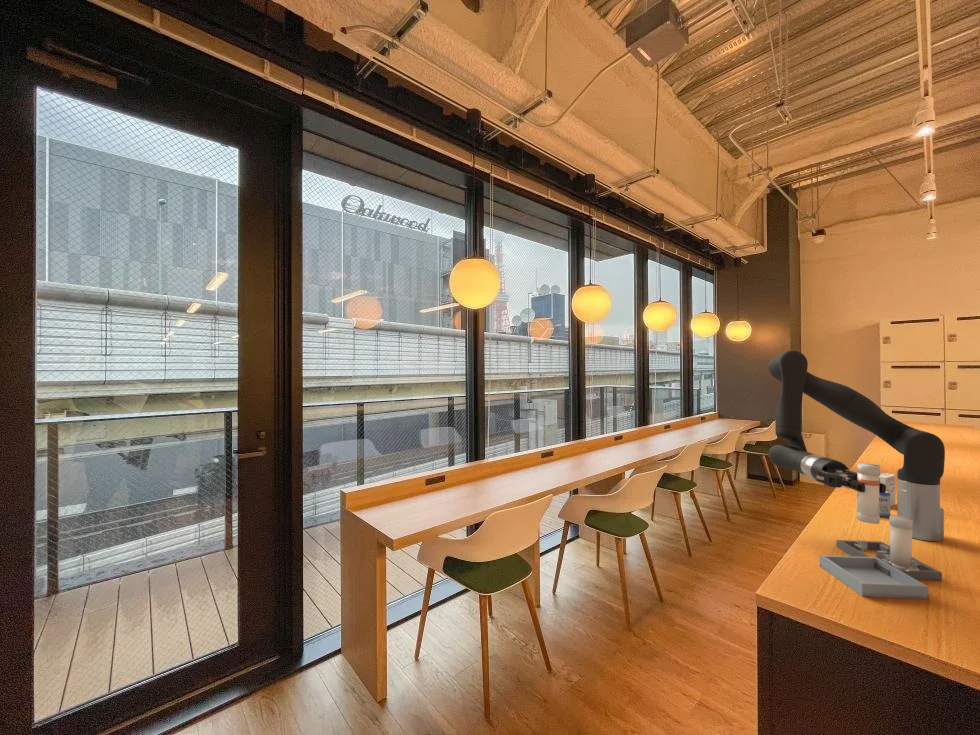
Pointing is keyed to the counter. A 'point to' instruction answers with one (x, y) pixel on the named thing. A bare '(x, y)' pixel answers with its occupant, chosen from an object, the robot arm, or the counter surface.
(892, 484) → the ink box
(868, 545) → the clip holder
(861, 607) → the counter surface
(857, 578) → the tray
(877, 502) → the banded white cylinder
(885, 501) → the medicine box
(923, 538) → the robot arm
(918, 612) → the counter surface
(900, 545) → the fuse
